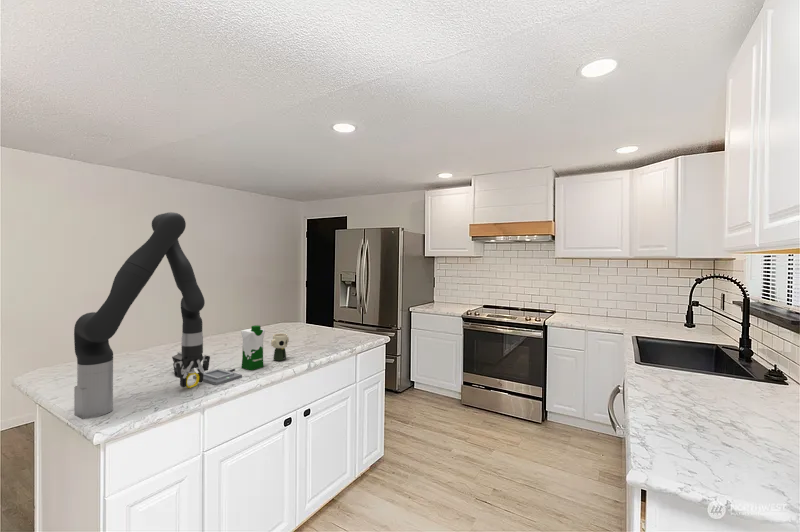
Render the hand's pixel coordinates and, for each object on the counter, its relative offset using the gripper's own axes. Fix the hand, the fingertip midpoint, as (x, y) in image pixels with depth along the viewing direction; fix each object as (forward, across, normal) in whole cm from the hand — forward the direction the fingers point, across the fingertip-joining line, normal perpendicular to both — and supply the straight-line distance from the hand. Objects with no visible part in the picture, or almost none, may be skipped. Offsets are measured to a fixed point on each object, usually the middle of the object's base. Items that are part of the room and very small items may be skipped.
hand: (192, 384), depth 149 cm
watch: (+1, 0, 0) cm, 1 cm away
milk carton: (+1, +30, +1) cm, 30 cm away
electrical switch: (+1, +8, +19) cm, 21 cm away
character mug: (+1, +46, 0) cm, 46 cm away
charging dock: (+1, +14, +1) cm, 14 cm away
